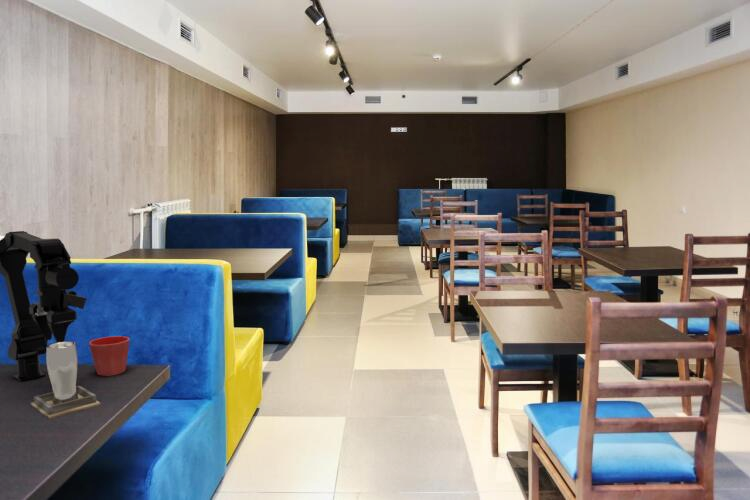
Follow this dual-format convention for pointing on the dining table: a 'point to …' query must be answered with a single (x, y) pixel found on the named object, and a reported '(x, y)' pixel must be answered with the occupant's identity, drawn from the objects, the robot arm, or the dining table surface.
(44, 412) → the tray
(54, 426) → the dining table surface
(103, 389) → the dining table surface
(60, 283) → the robot arm
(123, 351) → the flower pot
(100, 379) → the dining table surface
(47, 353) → the beer glass
